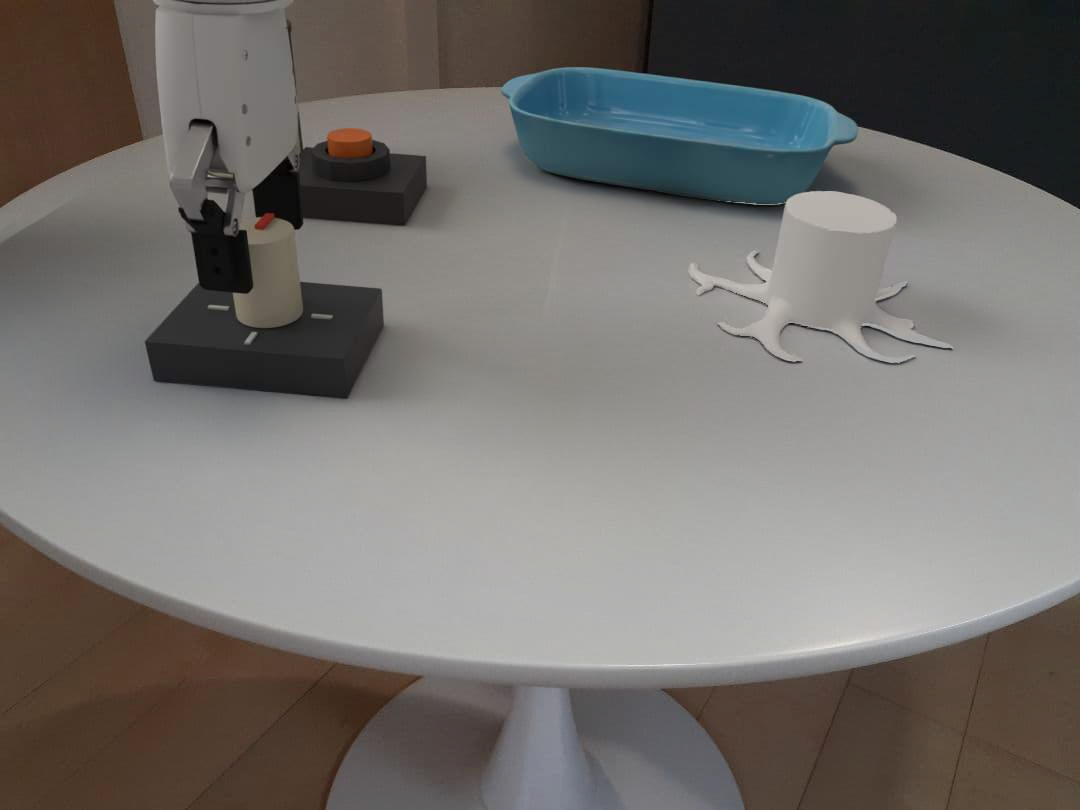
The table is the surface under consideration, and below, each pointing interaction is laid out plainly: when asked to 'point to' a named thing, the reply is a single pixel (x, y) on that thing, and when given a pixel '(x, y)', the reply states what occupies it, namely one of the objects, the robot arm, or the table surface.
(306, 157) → the button base
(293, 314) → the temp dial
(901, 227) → the table surface
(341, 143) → the power button
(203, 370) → the dial panel
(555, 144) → the casserole dish
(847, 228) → the tree stump
